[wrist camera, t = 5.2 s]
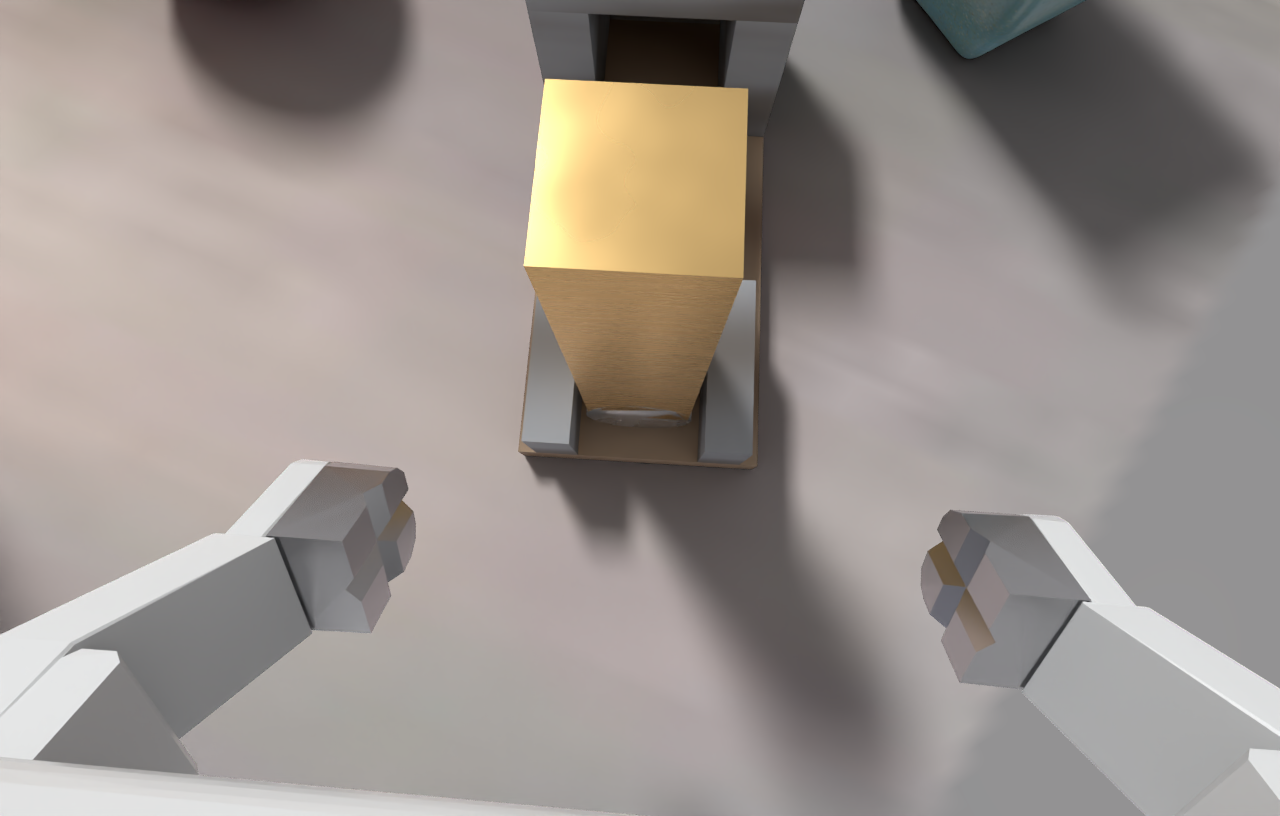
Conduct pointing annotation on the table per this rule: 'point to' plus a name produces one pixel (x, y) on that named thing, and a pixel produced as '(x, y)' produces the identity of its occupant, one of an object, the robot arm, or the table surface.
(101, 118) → the table surface
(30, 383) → the table surface
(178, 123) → the table surface
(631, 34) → the rail base
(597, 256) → the tall wooden block
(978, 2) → the flower pot
